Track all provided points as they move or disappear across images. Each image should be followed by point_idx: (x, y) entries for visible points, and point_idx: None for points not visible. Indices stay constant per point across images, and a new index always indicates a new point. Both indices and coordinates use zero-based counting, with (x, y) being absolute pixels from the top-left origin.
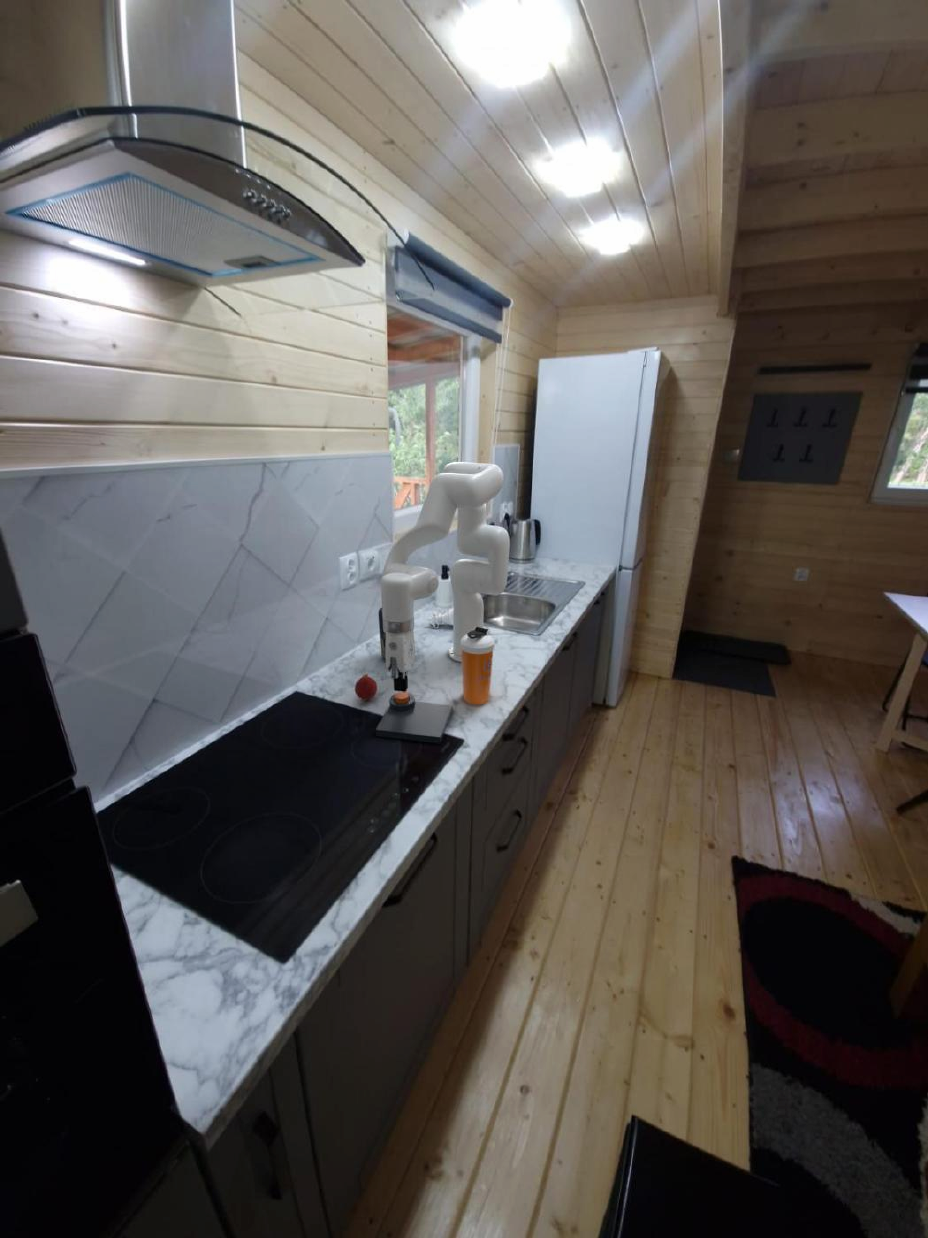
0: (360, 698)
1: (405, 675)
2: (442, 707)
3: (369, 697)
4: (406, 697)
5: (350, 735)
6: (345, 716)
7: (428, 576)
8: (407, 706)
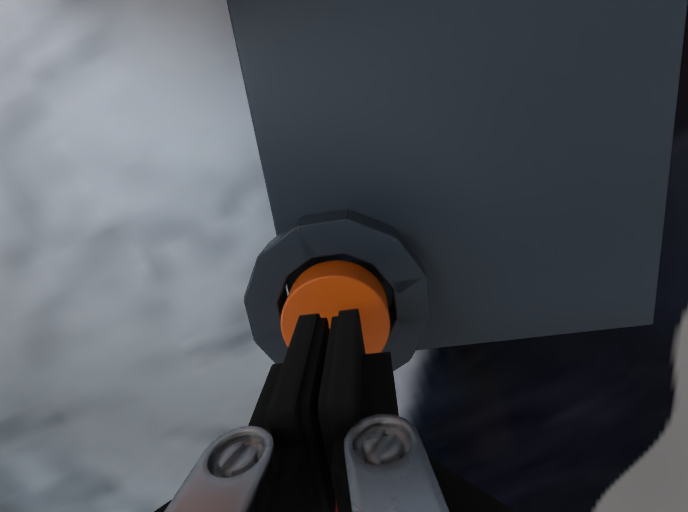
0: None
1: (286, 433)
2: None
3: None
4: (354, 281)
5: (631, 415)
6: None
7: None
8: (399, 239)
